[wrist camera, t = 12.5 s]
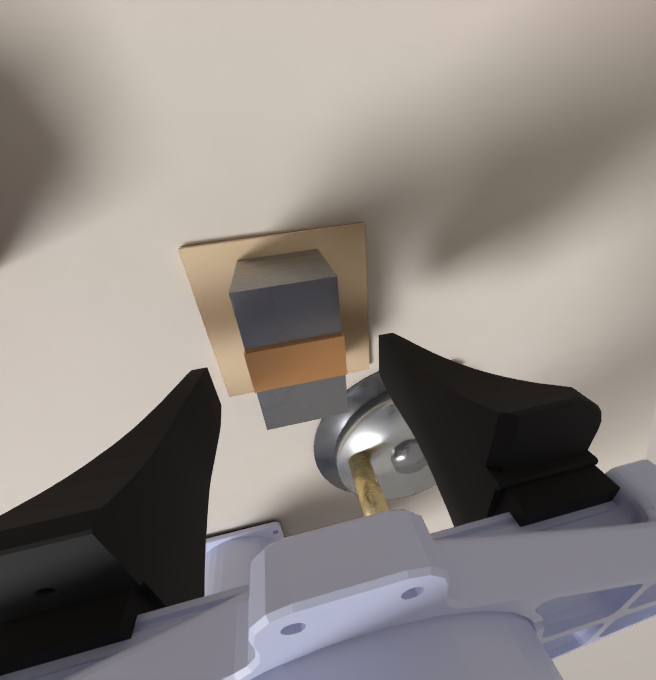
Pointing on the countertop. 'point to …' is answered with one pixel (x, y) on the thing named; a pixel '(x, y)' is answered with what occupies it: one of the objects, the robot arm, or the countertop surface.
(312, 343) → the link block
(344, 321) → the seat pad
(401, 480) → the brass knob plate
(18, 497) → the countertop surface
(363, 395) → the metal parts dish
